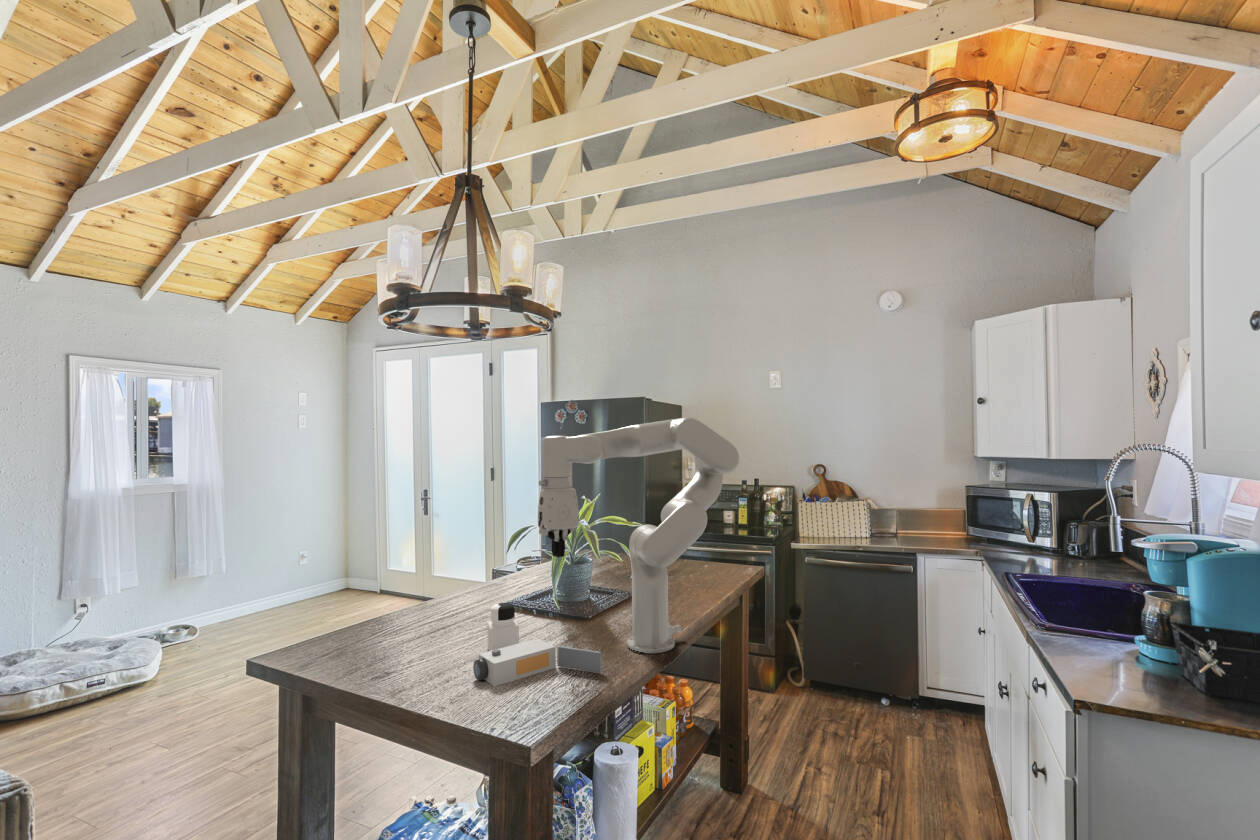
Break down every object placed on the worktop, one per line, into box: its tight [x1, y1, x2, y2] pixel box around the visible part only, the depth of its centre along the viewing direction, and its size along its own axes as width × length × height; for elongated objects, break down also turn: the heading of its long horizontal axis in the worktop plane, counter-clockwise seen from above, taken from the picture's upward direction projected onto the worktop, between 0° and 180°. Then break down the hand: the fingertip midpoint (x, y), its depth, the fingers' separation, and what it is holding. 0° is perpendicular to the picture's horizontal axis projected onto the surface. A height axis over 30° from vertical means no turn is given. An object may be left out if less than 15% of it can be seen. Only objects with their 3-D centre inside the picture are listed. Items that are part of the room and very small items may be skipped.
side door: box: [556, 645, 603, 674], centre depth 140 cm, size 12×1×5 cm, turn 66°
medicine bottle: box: [486, 602, 520, 651], centre depth 154 cm, size 7×7×12 cm
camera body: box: [472, 638, 557, 687], centre depth 139 cm, size 18×8×6 cm, turn 130°
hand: (558, 556), depth 150 cm, fingers closed
